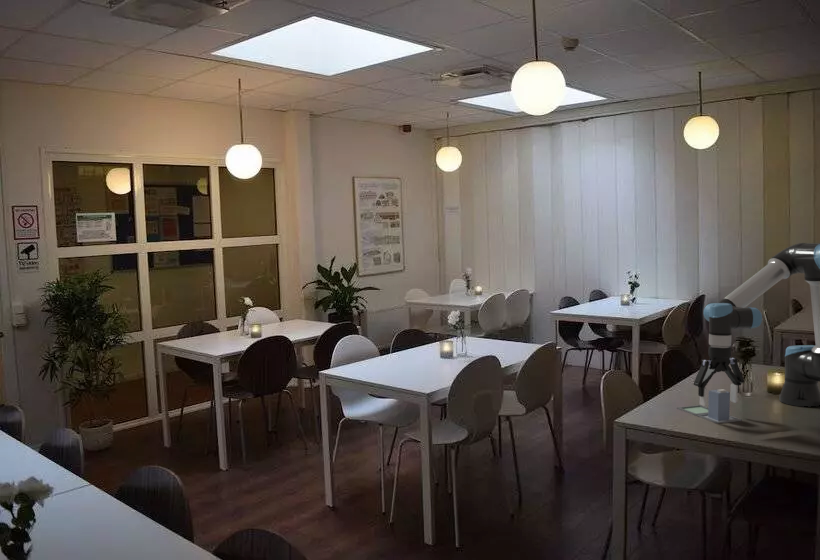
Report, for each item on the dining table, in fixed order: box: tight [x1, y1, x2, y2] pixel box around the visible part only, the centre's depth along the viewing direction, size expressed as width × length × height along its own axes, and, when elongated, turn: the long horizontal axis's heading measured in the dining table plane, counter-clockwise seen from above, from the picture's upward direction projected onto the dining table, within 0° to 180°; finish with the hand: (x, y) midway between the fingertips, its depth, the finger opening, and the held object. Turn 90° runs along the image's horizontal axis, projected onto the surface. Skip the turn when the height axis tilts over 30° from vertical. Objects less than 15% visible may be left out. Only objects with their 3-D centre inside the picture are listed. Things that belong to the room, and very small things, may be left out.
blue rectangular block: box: [707, 388, 731, 421], centre depth 250 cm, size 5×5×11 cm
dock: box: [676, 404, 742, 425], centre depth 256 cm, size 16×22×2 cm
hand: (718, 403), depth 250 cm, fingers open, 13 cm apart
